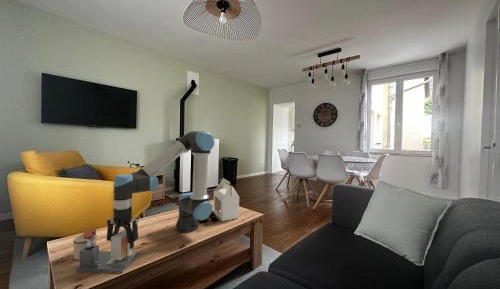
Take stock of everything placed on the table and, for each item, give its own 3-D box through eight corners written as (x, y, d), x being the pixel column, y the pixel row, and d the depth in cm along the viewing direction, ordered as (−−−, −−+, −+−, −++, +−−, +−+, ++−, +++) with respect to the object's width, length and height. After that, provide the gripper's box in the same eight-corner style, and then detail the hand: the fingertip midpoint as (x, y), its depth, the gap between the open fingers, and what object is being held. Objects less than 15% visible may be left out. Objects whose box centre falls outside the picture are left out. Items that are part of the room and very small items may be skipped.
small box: (120, 260, 94) (120, 238, 94) (110, 259, 95) (110, 236, 95) (133, 251, 102) (134, 230, 101) (124, 249, 103) (124, 229, 102)
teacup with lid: (94, 257, 101) (94, 234, 101) (70, 262, 97) (70, 238, 96) (98, 246, 111) (99, 224, 111) (77, 249, 107) (77, 227, 107)
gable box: (213, 211, 169) (214, 177, 168) (228, 209, 175) (229, 176, 174) (222, 221, 149) (223, 183, 148) (238, 218, 155) (239, 182, 154)
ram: (98, 250, 96) (98, 229, 96) (90, 256, 92) (91, 233, 91) (88, 250, 96) (88, 228, 96) (80, 256, 92) (80, 233, 91)
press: (139, 254, 104) (139, 238, 104) (122, 272, 90) (122, 254, 90) (99, 253, 104) (99, 237, 104) (76, 271, 90) (76, 252, 90)
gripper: (147, 205, 101) (146, 250, 102) (107, 204, 101) (107, 249, 102) (139, 210, 94) (138, 259, 95) (96, 209, 94) (96, 258, 94)
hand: (122, 254), depth 98 cm, fingers closed on small box, 6 cm apart
